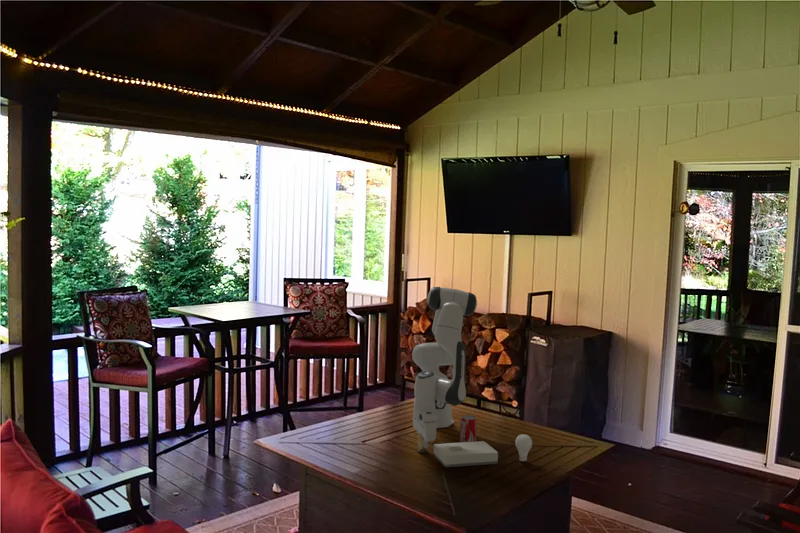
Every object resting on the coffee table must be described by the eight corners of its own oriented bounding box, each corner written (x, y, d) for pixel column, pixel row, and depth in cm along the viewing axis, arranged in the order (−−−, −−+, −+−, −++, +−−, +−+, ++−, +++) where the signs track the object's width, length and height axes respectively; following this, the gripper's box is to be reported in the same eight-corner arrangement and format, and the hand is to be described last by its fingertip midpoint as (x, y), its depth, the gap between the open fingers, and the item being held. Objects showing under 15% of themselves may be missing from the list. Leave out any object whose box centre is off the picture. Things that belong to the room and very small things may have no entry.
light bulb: (511, 459, 254) (512, 432, 253) (525, 458, 256) (526, 431, 256) (520, 465, 247) (521, 437, 247) (534, 463, 250) (535, 436, 250)
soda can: (475, 447, 267) (476, 419, 266) (458, 446, 268) (459, 418, 268) (476, 442, 274) (477, 415, 273) (460, 441, 275) (461, 414, 275)
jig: (433, 455, 256) (433, 444, 256) (483, 451, 262) (483, 441, 262) (445, 467, 243) (445, 455, 243) (497, 463, 249) (498, 452, 249)
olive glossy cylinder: (416, 449, 261) (416, 433, 261) (426, 449, 262) (426, 432, 262) (419, 453, 257) (419, 436, 256) (429, 452, 258) (430, 435, 258)
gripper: (409, 405, 268) (408, 437, 269) (424, 419, 248) (423, 453, 249) (423, 404, 270) (422, 436, 270) (439, 418, 250) (438, 452, 251)
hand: (423, 444), depth 259 cm, fingers closed on olive glossy cylinder, 4 cm apart
